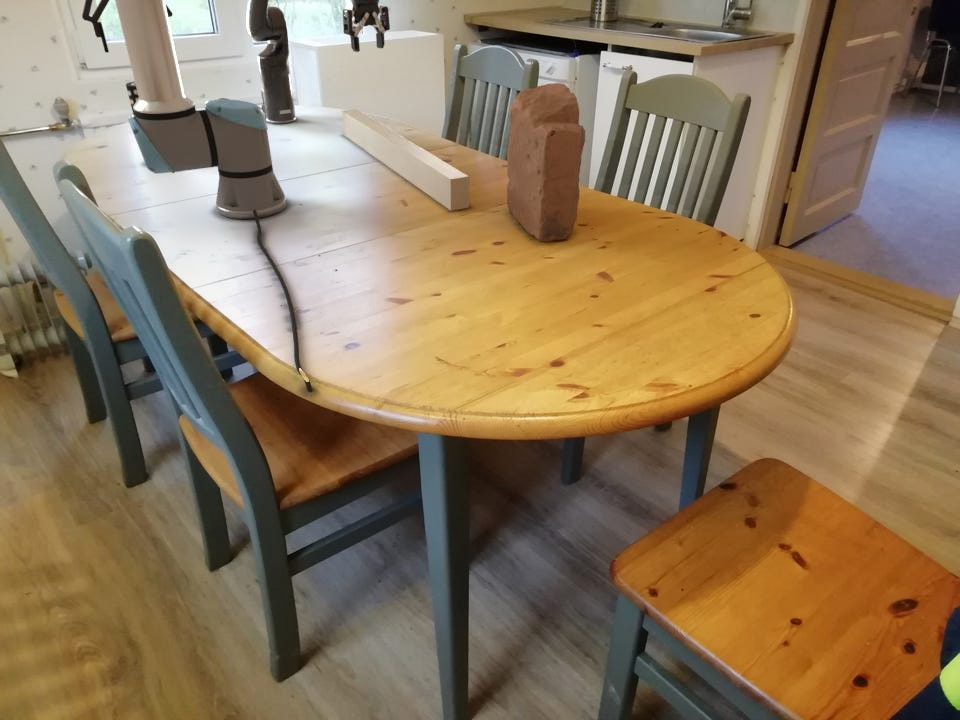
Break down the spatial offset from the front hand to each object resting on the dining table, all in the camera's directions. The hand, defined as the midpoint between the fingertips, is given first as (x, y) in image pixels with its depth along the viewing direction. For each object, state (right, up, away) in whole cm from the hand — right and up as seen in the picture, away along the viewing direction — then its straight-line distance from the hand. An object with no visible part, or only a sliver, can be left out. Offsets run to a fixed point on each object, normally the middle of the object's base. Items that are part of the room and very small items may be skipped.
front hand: (136, 49), depth 174 cm
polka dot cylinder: (+1, -16, +7) cm, 18 cm away
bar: (+65, -26, +12) cm, 71 cm away
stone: (+101, -48, -22) cm, 114 cm away
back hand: (+56, +8, +17) cm, 59 cm away
